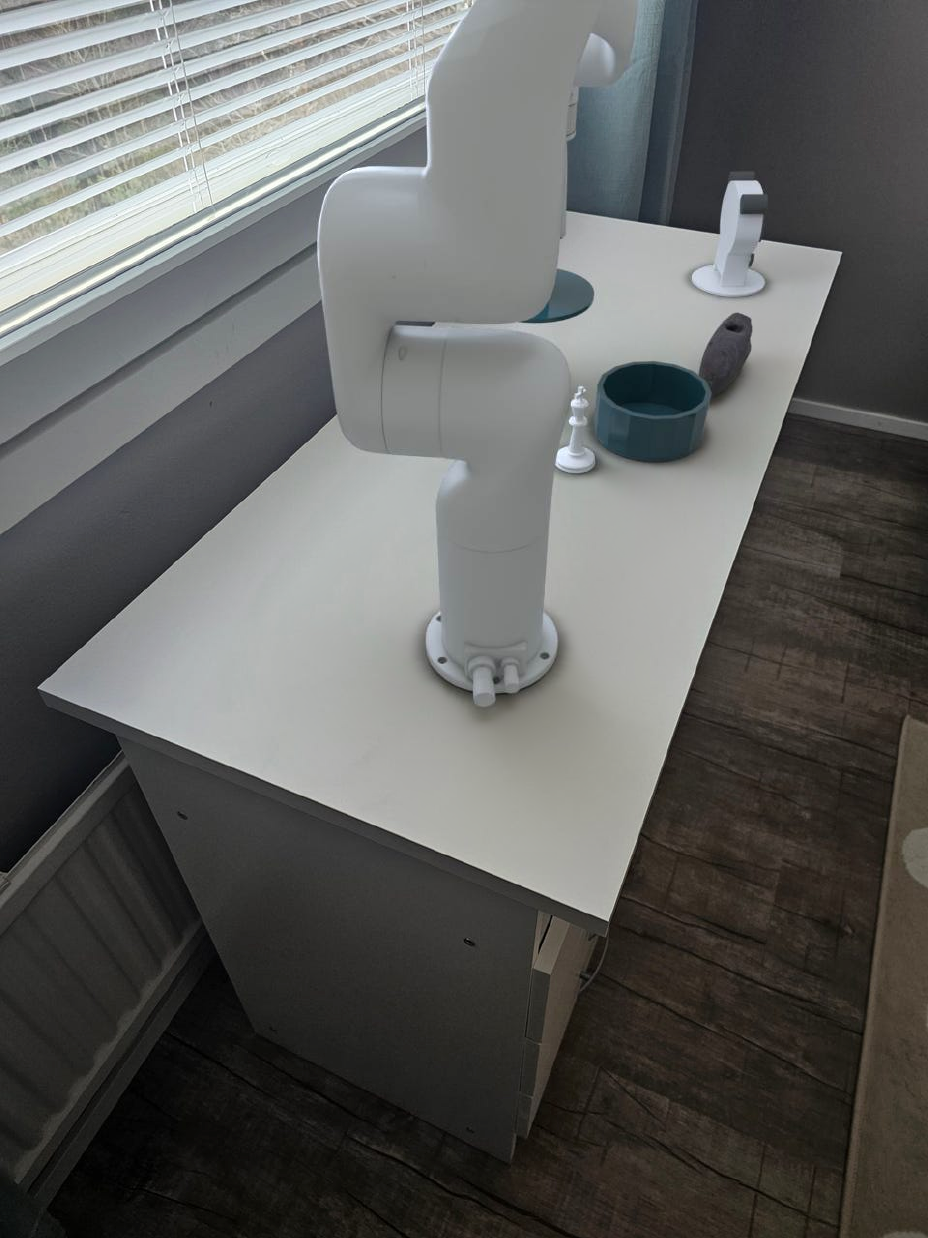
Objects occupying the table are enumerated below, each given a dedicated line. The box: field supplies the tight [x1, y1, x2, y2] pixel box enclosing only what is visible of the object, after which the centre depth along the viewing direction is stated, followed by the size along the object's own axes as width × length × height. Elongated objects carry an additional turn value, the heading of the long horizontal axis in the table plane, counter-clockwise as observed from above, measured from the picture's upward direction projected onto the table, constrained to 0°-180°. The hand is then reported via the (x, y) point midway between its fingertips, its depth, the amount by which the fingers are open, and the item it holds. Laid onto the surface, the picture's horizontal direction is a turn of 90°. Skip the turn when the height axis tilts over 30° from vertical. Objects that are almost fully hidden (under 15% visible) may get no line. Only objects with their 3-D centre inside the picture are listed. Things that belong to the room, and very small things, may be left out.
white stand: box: [691, 171, 769, 298], centre depth 136 cm, size 12×11×15 cm
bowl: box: [593, 360, 712, 463], centre depth 109 cm, size 13×13×6 cm
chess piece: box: [555, 385, 596, 474], centre depth 103 cm, size 5×5×10 cm
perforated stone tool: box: [698, 312, 753, 398], centre depth 117 cm, size 15×5×7 cm, turn 150°
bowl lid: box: [519, 268, 595, 325], centre depth 106 cm, size 14×14×6 cm
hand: (534, 286), depth 107 cm, fingers closed on bowl lid, 2 cm apart
